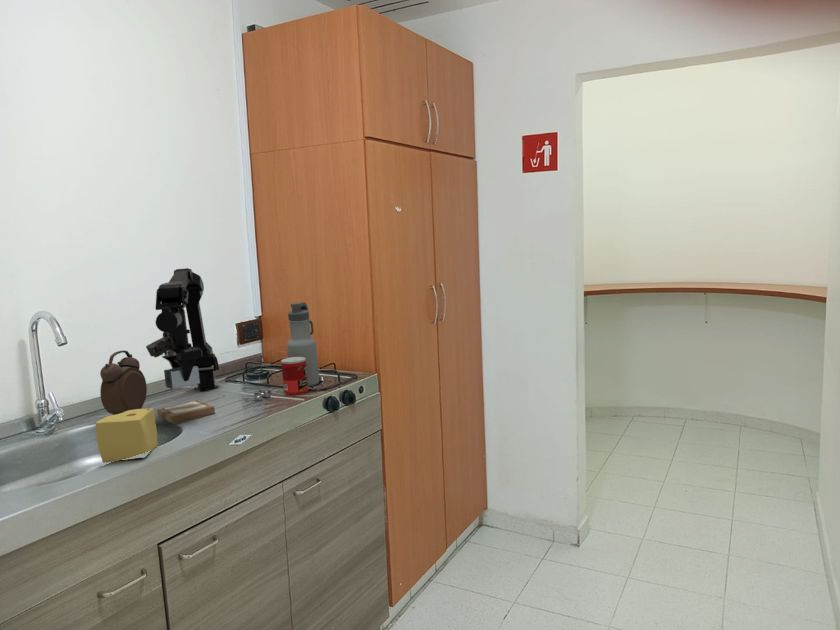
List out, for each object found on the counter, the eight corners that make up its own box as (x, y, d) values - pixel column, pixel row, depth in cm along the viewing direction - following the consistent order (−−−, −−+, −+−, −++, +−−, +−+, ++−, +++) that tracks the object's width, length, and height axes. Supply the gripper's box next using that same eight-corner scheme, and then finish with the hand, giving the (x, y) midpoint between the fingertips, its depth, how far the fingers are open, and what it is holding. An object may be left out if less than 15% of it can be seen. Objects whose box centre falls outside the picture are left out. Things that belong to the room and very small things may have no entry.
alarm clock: (130, 410, 192) (121, 347, 189) (151, 409, 191) (143, 346, 188) (99, 425, 178) (89, 357, 175) (122, 424, 177) (113, 356, 174)
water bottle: (296, 380, 216) (289, 301, 213) (323, 380, 215) (316, 300, 211) (286, 388, 207) (278, 305, 203) (314, 387, 205) (306, 304, 201)
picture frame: (158, 417, 182) (157, 408, 182) (197, 407, 190) (196, 399, 190) (174, 424, 173) (173, 415, 173) (214, 413, 181) (213, 405, 181)
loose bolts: (244, 400, 195) (244, 393, 194) (261, 393, 202) (261, 387, 201) (259, 401, 192) (259, 394, 192) (276, 394, 199) (275, 387, 199)
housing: (192, 380, 185) (190, 364, 184) (199, 383, 181) (197, 366, 181) (166, 386, 180) (163, 370, 179) (172, 389, 176) (170, 372, 175)
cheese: (117, 449, 155) (111, 410, 154) (161, 445, 156) (156, 406, 154) (99, 464, 145) (93, 423, 143) (146, 459, 145) (141, 418, 144)
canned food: (303, 395, 196) (300, 361, 194) (280, 395, 197) (276, 362, 196) (312, 389, 203) (309, 356, 202) (289, 389, 205) (286, 357, 203)
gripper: (135, 329, 180) (142, 381, 182) (160, 334, 166) (167, 390, 168) (173, 323, 187) (179, 373, 189) (200, 327, 174) (206, 381, 176)
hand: (182, 379), depth 180 cm, fingers closed on housing, 5 cm apart
